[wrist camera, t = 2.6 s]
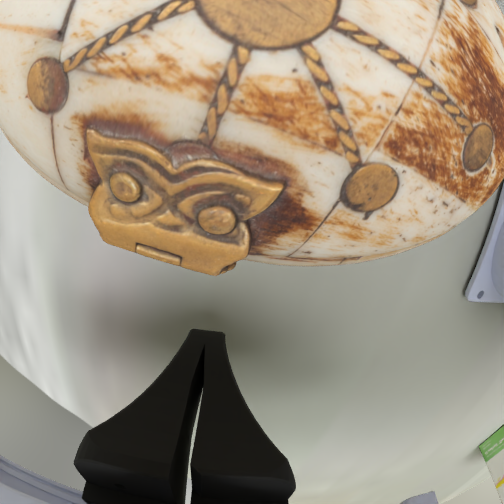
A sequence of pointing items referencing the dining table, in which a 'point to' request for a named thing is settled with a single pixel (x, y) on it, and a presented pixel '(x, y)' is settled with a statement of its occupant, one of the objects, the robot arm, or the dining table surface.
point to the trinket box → (259, 121)
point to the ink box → (495, 459)
